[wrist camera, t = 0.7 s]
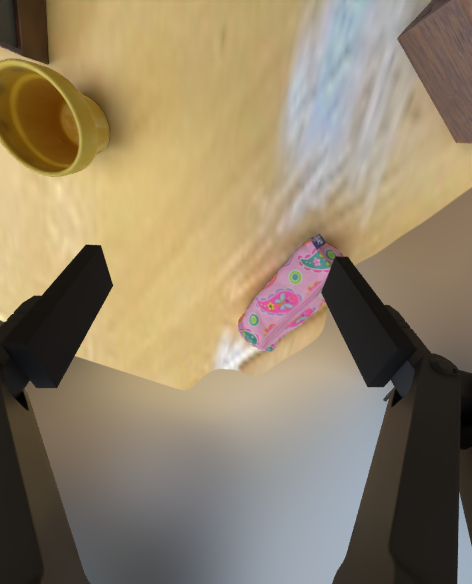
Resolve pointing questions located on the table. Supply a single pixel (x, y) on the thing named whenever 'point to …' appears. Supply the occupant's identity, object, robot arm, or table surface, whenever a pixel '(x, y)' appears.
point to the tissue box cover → (445, 60)
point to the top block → (7, 23)
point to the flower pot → (48, 120)
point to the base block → (30, 30)
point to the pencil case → (289, 295)
